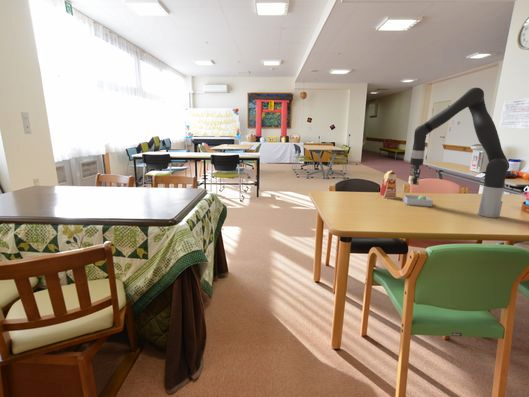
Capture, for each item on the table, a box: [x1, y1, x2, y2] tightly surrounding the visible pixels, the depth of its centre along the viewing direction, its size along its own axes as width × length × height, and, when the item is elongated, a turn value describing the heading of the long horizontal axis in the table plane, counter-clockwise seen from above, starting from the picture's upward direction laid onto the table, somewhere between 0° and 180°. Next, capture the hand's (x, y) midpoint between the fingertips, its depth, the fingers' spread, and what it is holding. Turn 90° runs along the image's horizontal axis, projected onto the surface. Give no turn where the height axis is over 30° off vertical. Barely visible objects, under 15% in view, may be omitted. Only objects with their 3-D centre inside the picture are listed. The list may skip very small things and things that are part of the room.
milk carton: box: [379, 170, 397, 200], centre depth 210 cm, size 9×9×20 cm
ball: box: [418, 195, 426, 200], centre depth 194 cm, size 5×5×5 cm
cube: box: [407, 175, 420, 186], centre depth 192 cm, size 5×5×5 cm
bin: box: [401, 194, 434, 208], centre depth 195 cm, size 15×13×4 cm
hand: (413, 183), depth 193 cm, fingers closed on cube, 5 cm apart
